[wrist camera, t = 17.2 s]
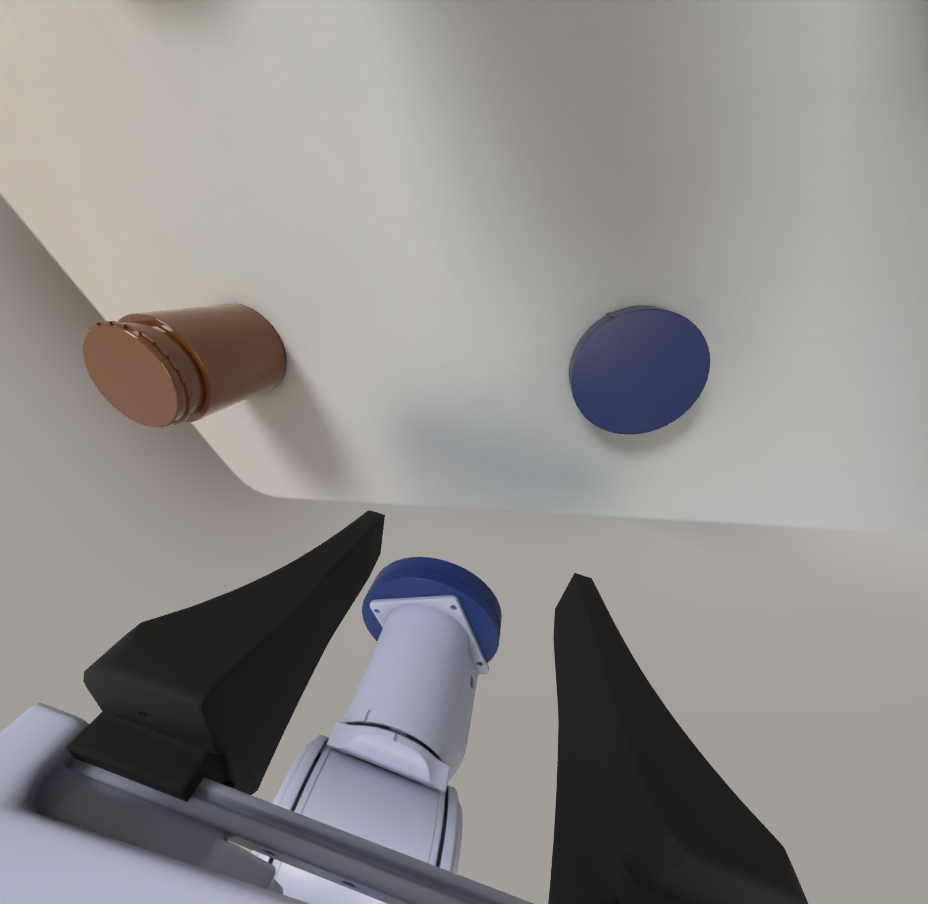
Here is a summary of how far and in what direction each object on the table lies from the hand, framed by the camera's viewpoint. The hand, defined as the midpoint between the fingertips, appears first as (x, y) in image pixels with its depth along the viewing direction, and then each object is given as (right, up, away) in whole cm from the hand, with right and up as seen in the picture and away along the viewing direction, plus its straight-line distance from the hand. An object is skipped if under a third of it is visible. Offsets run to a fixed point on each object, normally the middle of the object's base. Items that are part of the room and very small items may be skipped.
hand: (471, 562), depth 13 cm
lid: (+8, +8, +3) cm, 11 cm away
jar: (-14, +10, +8) cm, 19 cm away
